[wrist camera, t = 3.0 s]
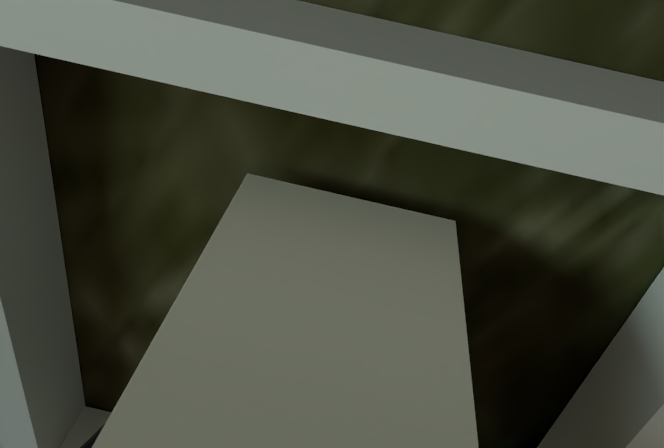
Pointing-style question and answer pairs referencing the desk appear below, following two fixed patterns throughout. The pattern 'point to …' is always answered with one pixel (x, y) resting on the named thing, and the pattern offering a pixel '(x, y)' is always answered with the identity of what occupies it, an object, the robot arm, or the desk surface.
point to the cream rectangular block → (309, 333)
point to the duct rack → (327, 103)
